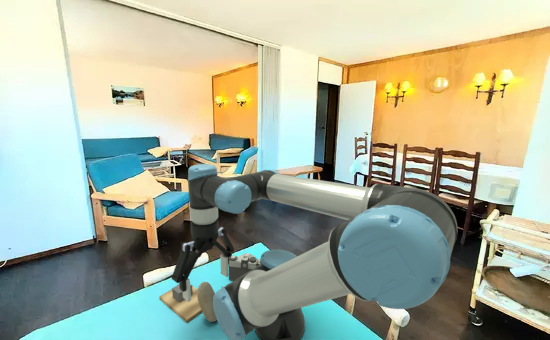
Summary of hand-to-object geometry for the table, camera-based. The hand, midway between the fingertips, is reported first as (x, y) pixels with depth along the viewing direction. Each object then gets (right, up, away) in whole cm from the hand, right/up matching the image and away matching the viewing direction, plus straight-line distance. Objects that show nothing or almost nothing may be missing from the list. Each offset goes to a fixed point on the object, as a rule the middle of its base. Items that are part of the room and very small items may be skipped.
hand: (207, 286), depth 72 cm
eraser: (-11, -8, +10) cm, 17 cm away
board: (-10, -10, +9) cm, 16 cm away
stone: (0, -11, +2) cm, 12 cm away
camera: (+10, -7, +23) cm, 27 cm away
